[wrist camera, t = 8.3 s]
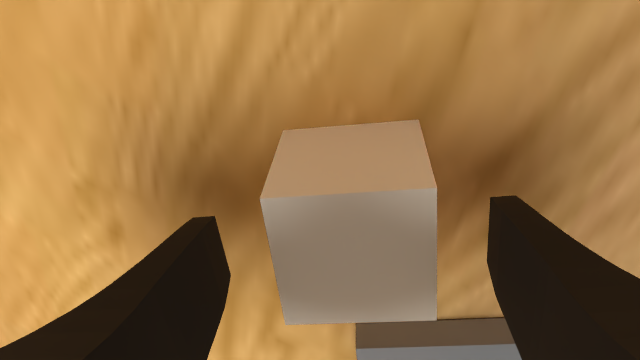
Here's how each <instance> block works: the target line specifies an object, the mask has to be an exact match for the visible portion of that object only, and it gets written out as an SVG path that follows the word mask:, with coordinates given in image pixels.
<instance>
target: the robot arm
mask: <svg viewBox="0 0 640 360" xmlns="http://www.w3.org/2000/svg"><path fill="white" fill-rule="evenodd" d="M487 264H488V268H489V272H490V276H491V280H492V284H493V287H494V291H495V295H496V297H497V300H498V303H499V305H500V308H501V310H502V313H503V315H504V317H505V320H506V322H507V325H508V327H509V330H510V332H511V335H512V337H513V339H514V342H515V344H516V347H517V349H518V351H519V354H520V356H521V359H522V360H640V279H639V278H637V277H635V276H634V275H632V274H630V273H628V272H626V271H624V270H622V269H621V268H619V267H617V266H615V265H614V264H612V263H610V262H609V261H607V260H605V259H604V258H602V257H601V256H599V255H598V254H596V253H594V252H593V251H591V250H590V249H588V248H586V247H585V246H583V245H582V244H581V243H579V242H578V241H576V240H575V239H573V238H572V237H570V236H569V235H568V234H566V233H565V232H563V231H562V230H561V229H559V228H558V227H557V226H555V225H554V224H552V223H551V222H550V221H549V220H547V219H546V218H545V217H543V216H542V215H541V214H539V213H538V212H537V211H535V210H534V209H533V208H532V207H530V206H529V205H528V204H526V203H525V202H524V201H522V200H521V199H520V198H518V197H517V196H502V197H490V214H489V233H488V251H487ZM230 277H231V274H230V270H229V267H228V263H227V259H226V256H225V252H224V248H223V245H222V241H221V238H220V234H219V230H218V227H217V223H216V219H215V216H210V217H196V218H192V219H191V220H189V221H188V222H186V223H185V224H184V225H183V226H182V227H180V228H179V229H178V230H177V231H176V232H174V233H173V234H172V235H171V236H170V237H168V238H167V239H166V240H165V241H164V242H163V243H161V244H160V245H159V246H158V247H157V248H156V249H154V250H153V251H152V252H151V253H150V254H148V255H147V256H146V257H145V258H144V259H142V260H141V261H140V262H139V263H137V264H136V265H135V266H134V267H132V268H131V269H130V270H128V271H127V272H126V273H125V274H123V275H122V276H121V277H119V278H118V279H117V280H116V281H114V282H113V283H112V284H110V285H109V286H107V287H106V288H105V289H103V290H102V291H100V292H99V293H97V294H96V295H95V296H93V297H92V298H90V299H88V300H87V301H85V302H84V303H82V304H81V305H79V306H78V307H76V308H74V309H73V310H71V311H70V312H68V313H66V314H64V315H63V316H61V317H59V318H57V319H55V320H54V321H52V322H50V323H48V324H47V325H45V326H43V327H41V328H39V329H38V330H36V331H34V332H32V333H30V334H28V335H26V336H24V337H22V338H20V339H18V340H16V341H14V342H12V343H10V344H8V345H6V346H4V347H2V348H0V360H207V358H208V355H209V352H210V349H211V346H212V343H213V341H214V338H215V335H216V332H217V329H218V326H219V323H220V320H221V317H222V314H223V311H224V308H225V303H226V299H227V294H228V288H229V283H230Z"/></svg>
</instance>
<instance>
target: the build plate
mask: <svg viewBox="0 0 640 360" xmlns="http://www.w3.org/2000/svg"><path fill="white" fill-rule="evenodd" d="M356 354H357V360H522V359H521V356H520V354H519V351H518V349H517V347H516V344H515V342H514V339H513V337H512V335H511V332H510V330H509V327H508V325H507V322H506V320H505V318H490V319H463V320H435V321H408V322H381V323H356Z"/></svg>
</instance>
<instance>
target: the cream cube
mask: <svg viewBox="0 0 640 360" xmlns="http://www.w3.org/2000/svg"><path fill="white" fill-rule="evenodd" d="M260 203H261V208H262V213H263V218H264V222H265V227H266V232H267V237H268V242H269V247H270V252H271V257H272V262H273V266H274V271H275V276H276V281H277V286H278V291H279V296H280V301H281V305H282V310H283V315H284V320H285V325H299V324H333V323H367V322H401V321H435V320H437V186H436V182H435V178H434V175H433V171H432V167H431V163H430V160H429V156H428V152H427V149H426V145H425V141H424V137H423V134H422V130H421V126H420V123H419V120H406V121H393V122H380V123H368V124H355V125H342V126H329V127H317V128H304V129H291V130H283V132H282V135H281V138H280V141H279V144H278V147H277V150H276V152H275V155H274V158H273V161H272V164H271V167H270V170H269V173H268V176H267V179H266V182H265V185H264V187H263V190H262V193H261V196H260Z"/></svg>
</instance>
